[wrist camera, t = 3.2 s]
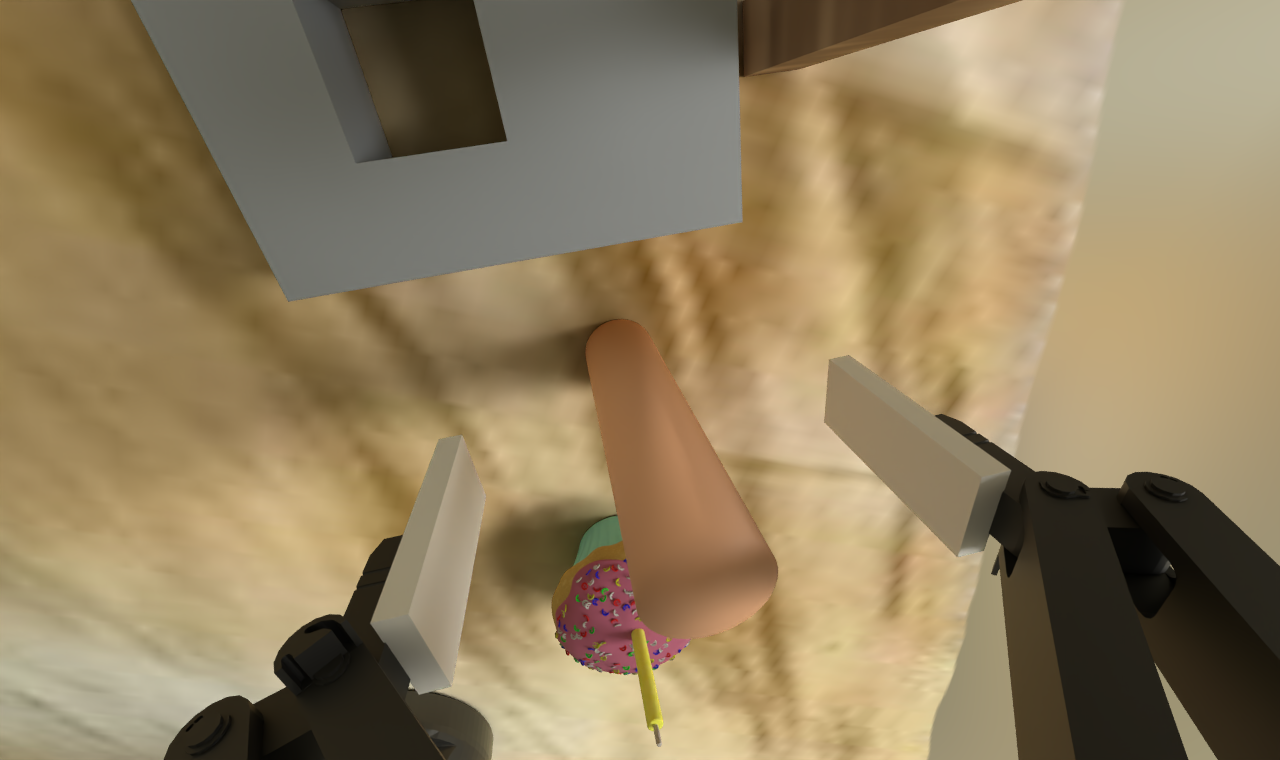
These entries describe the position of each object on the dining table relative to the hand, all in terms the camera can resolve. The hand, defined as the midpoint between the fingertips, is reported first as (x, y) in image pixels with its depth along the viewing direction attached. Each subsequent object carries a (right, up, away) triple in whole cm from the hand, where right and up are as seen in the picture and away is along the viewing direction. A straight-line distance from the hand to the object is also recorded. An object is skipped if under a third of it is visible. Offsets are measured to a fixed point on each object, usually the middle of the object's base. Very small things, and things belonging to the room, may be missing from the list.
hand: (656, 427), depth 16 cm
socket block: (-6, +13, +1) cm, 14 cm away
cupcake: (-2, -9, +13) cm, 15 cm away
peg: (-2, +3, +7) cm, 7 cm away
